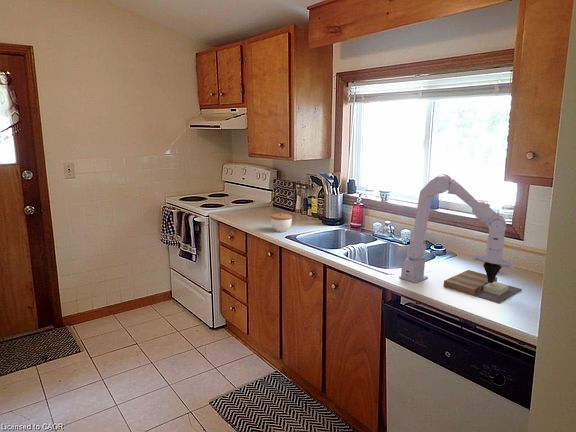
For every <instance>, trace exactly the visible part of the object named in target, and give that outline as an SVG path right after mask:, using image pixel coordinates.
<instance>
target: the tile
mask: <svg viewBox="0 0 576 432" xmlns="http://www.w3.org/2000/svg"><path fill="white" fill-rule="evenodd" d="M509 286H510V284H509V285H508V284H505V283H501V282H498V281H497V282H495V281H494V282H493V283H488V284H486V285H484V288H483V291H486V292H489V293H493V294H496V295H501V294H503V293H504V292H506V291H508V289H509Z"/></svg>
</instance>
